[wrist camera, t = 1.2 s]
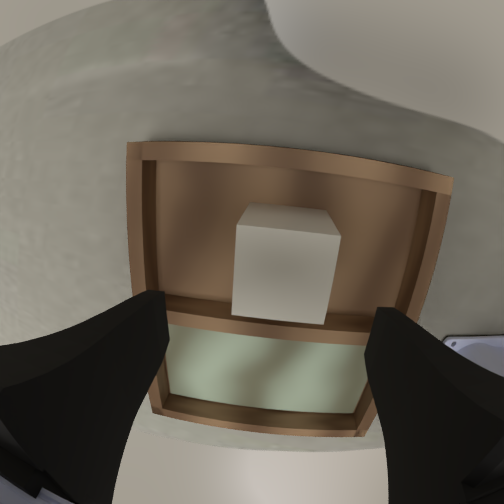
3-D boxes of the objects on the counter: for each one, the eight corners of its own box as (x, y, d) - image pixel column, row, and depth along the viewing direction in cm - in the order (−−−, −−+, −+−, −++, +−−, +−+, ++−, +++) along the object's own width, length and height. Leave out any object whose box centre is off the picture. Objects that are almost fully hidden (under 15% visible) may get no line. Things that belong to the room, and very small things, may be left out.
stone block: (326, 210, 17) (341, 236, 12) (315, 280, 19) (323, 324, 14) (250, 202, 17) (236, 224, 13) (244, 272, 19) (231, 314, 14)
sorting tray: (431, 171, 16) (453, 177, 14) (359, 411, 24) (364, 436, 21) (149, 141, 18) (127, 142, 15) (163, 390, 25) (152, 412, 22)
